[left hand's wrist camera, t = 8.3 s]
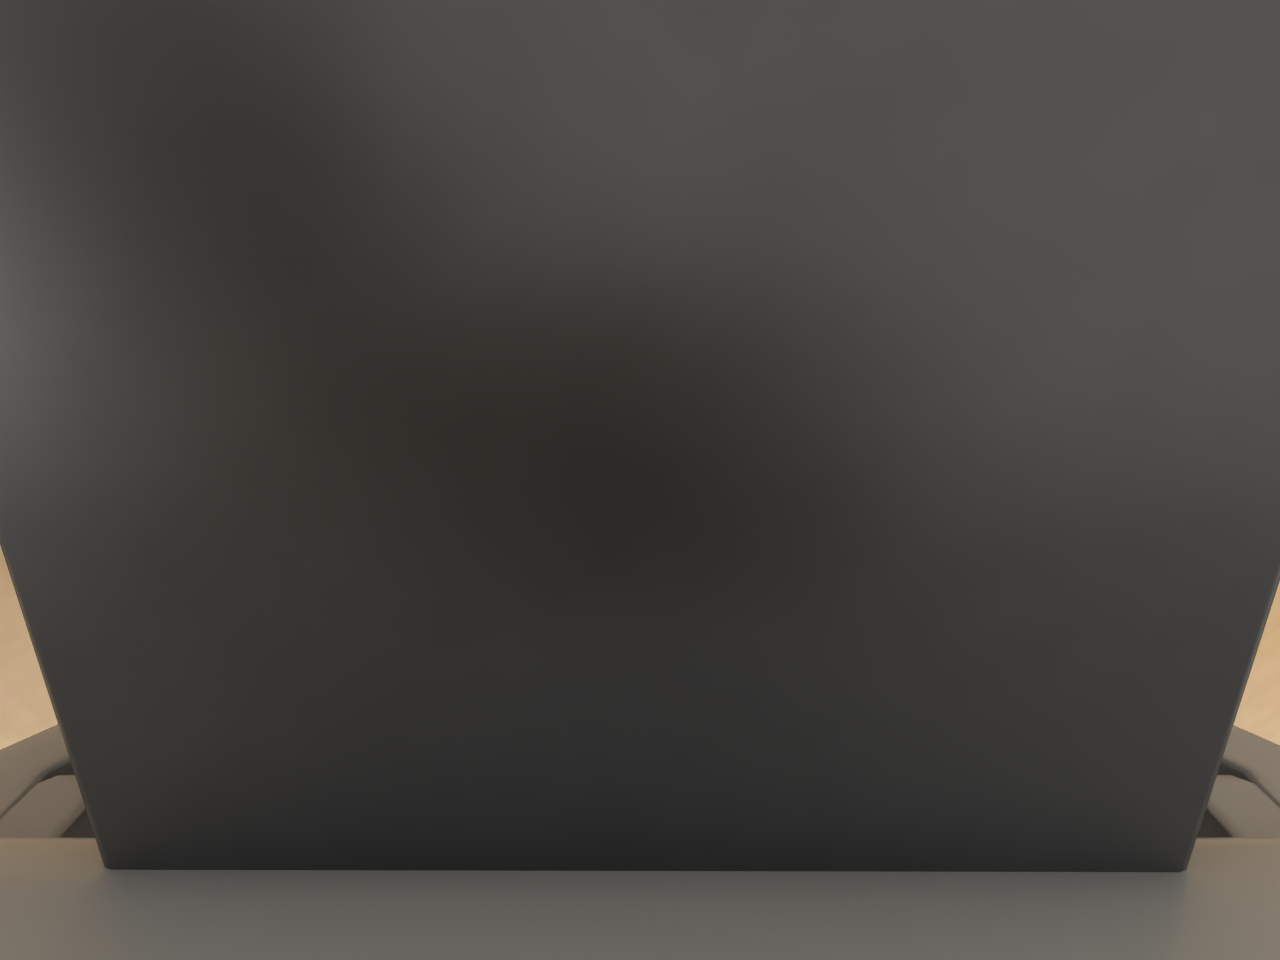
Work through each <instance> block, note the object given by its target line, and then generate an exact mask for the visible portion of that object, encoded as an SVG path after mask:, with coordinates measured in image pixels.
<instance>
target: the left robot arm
mask: <svg viewBox="0 0 1280 960" xmlns="http://www.w3.org/2000/svg"><path fill="white" fill-rule="evenodd" d="M0 960H1280V746H1279V745H1277V744H1275V743H1273V742H1270V741H1268V740H1266V739H1263V738H1261V737H1259V736H1257V735H1254V734H1252V733H1250V732H1248V731H1245V730H1243V729H1241V728H1238V727H1236V726H1234V725H1233V727H1232V730H1231V733H1230V736H1229V739H1228V742H1227V746H1226V749H1225V752H1224V755H1223V758H1222V761H1221V764H1220V767H1219V770H1218V773H1217V777H1216V780H1215V783H1214V786H1213V789H1212V792H1211V795H1210V798H1209V801H1208V805H1207V808H1206V811H1205V814H1204V817H1203V820H1202V823H1201V826H1200V829H1199V832H1198V836H1197V839H1196V842H1195V845H1194V848H1193V851H1192V854H1191V857H1190V860H1189V864H1188V867H1187V870H1184V871H1181V872H874V871H431V870H111V869H108V868H105V867H104V864H103V861H102V858H101V854H100V851H99V848H98V845H97V842H96V839H95V836H94V833H93V830H92V827H91V823H90V820H89V817H88V814H87V811H86V808H85V805H84V802H83V799H82V796H81V792H80V789H79V786H78V783H77V780H76V777H75V774H74V771H73V768H72V765H71V761H70V758H69V755H68V752H67V749H66V746H65V743H64V740H63V737H62V734H61V730H60V727H59V724H58V725H56V726H54V727H52V728H49V729H47V730H45V731H42V732H40V733H38V734H36V735H33V736H31V737H29V738H27V739H24V740H22V741H20V742H18V743H15V744H13V745H11V746H8V747H6V748H4V749H2V750H0Z"/></svg>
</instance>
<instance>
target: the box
mask: <svg viewBox="0 0 1280 960" xmlns="http://www.w3.org/2000/svg"><path fill="white" fill-rule="evenodd" d="M0 545H1V548H2V551H3V554H4V557H5V560H6V563H7V566H8V569H9V573H10V576H11V579H12V582H13V585H14V588H15V591H16V594H17V597H18V600H19V603H20V607H21V610H22V613H23V616H24V619H25V622H26V625H27V628H28V631H29V634H30V638H31V641H32V644H33V647H34V650H35V653H36V656H37V659H38V662H39V665H40V669H41V672H42V675H43V678H44V681H45V684H46V687H47V690H48V693H49V696H50V700H51V703H52V706H53V709H54V712H55V715H56V718H57V721H58V724H59V727H60V730H61V734H62V737H63V740H64V743H65V746H66V749H67V752H68V755H69V758H70V761H71V765H72V768H73V771H74V774H75V777H76V780H77V783H78V786H79V789H80V792H81V796H82V799H83V802H84V805H85V808H86V811H87V814H88V817H89V820H90V823H91V827H92V830H93V833H94V836H95V839H96V842H97V845H98V848H99V851H100V854H101V858H102V861H103V864H104V867H105V868H108V869H111V870H431V871H874V872H1181V871H1184V870H1187V867H1188V864H1189V860H1190V857H1191V854H1192V851H1193V848H1194V845H1195V842H1196V839H1197V836H1198V832H1199V829H1200V826H1201V823H1202V820H1203V817H1204V814H1205V811H1206V808H1207V805H1208V801H1209V798H1210V795H1211V792H1212V789H1213V786H1214V783H1215V780H1216V777H1217V773H1218V770H1219V767H1220V764H1221V761H1222V758H1223V755H1224V752H1225V749H1226V746H1227V742H1228V739H1229V736H1230V733H1231V730H1232V727H1233V724H1234V721H1235V718H1236V714H1237V711H1238V708H1239V705H1240V702H1241V699H1242V696H1243V693H1244V690H1245V687H1246V683H1247V680H1248V677H1249V674H1250V671H1251V668H1252V665H1253V662H1254V659H1255V655H1256V652H1257V649H1258V646H1259V643H1260V640H1261V637H1262V634H1263V631H1264V628H1265V624H1266V621H1267V618H1268V615H1269V612H1270V609H1271V606H1272V603H1273V600H1274V596H1275V593H1276V590H1277V587H1278V584H1279V581H1280V0H0Z"/></svg>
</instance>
